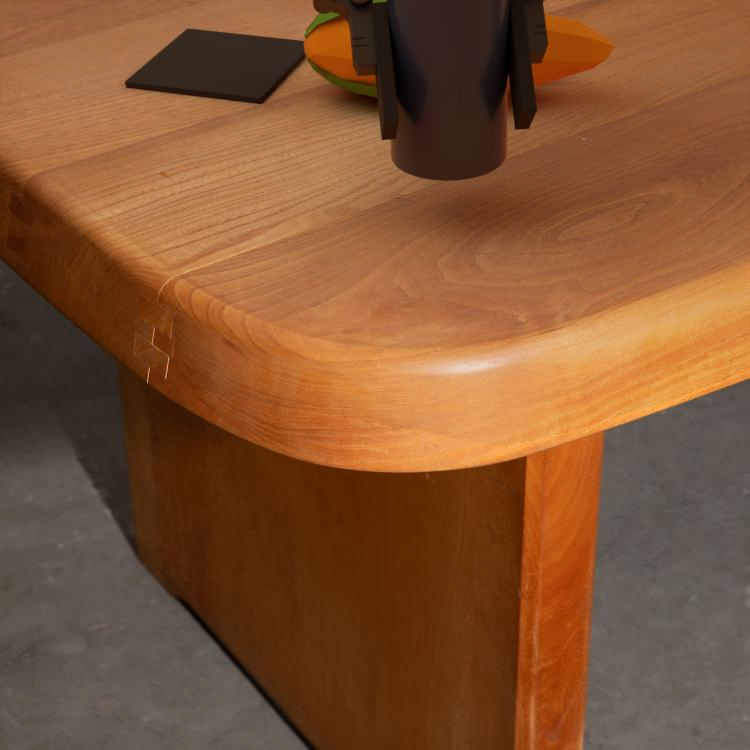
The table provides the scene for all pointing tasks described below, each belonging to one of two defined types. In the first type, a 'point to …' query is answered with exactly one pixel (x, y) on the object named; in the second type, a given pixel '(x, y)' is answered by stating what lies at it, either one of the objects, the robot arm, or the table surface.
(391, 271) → the table surface
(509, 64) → the robot arm
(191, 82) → the coaster
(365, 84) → the corn
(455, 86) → the tin
